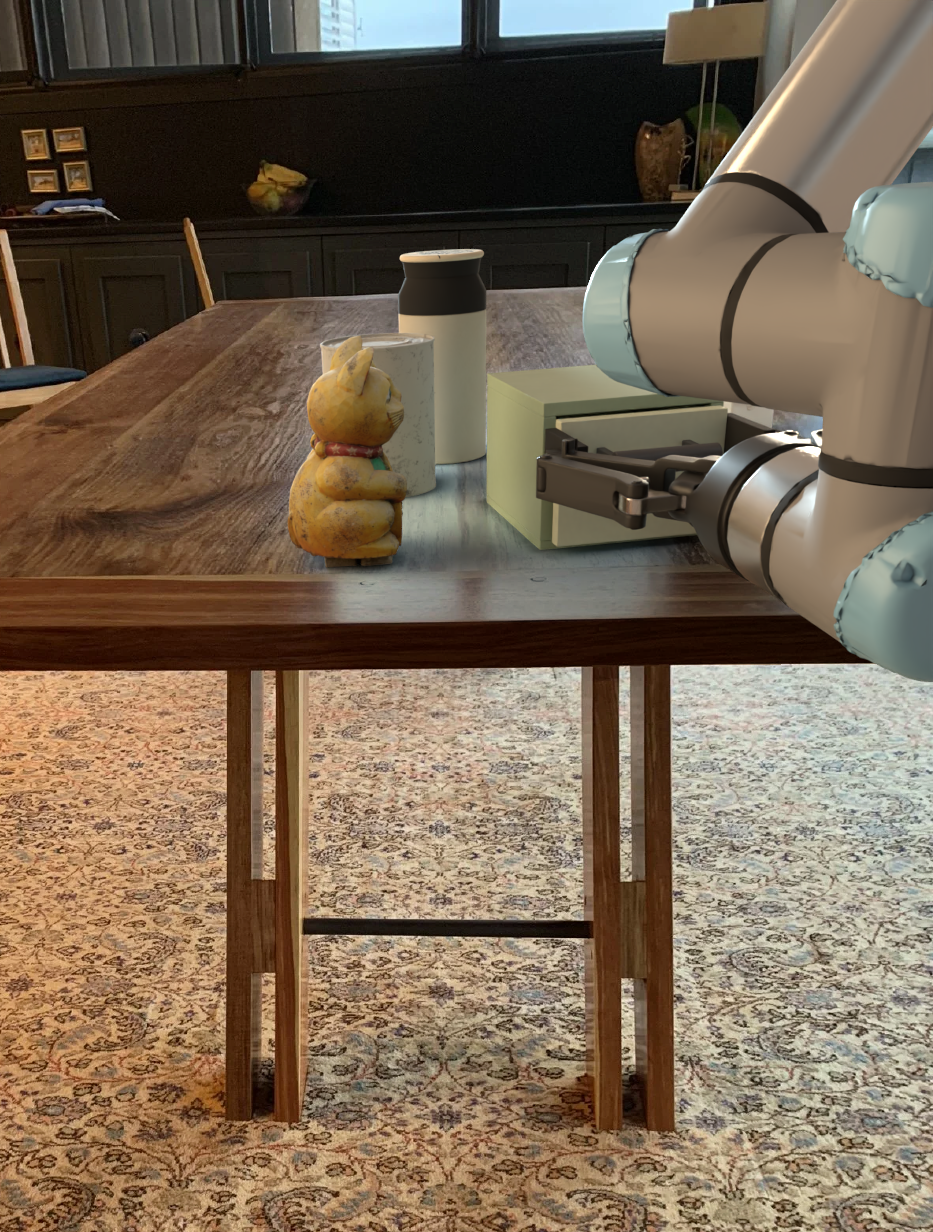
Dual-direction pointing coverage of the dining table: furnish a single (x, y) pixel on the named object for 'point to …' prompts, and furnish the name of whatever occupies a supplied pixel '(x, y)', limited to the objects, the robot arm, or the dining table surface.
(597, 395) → the cabinet
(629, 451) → the drawer
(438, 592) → the dining table surface
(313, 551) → the decorative figurine
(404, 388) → the white can
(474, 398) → the travel mug
